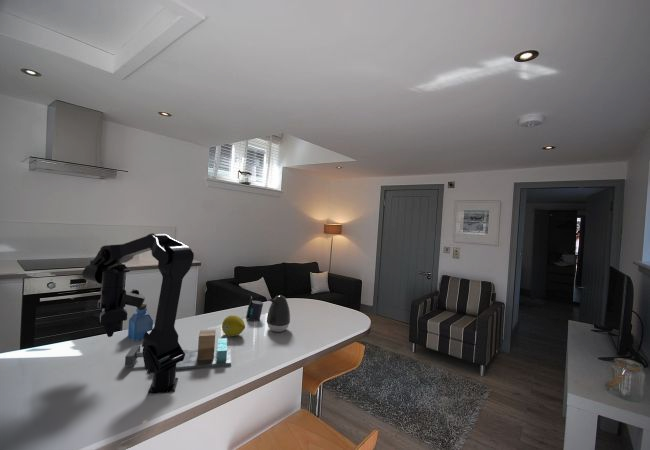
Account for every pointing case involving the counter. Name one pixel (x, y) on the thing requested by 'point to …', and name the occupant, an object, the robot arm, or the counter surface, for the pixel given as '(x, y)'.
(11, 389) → the counter surface
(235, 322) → the lemon
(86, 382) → the counter surface
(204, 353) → the walnut block
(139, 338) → the perfume bottle
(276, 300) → the pump dispenser
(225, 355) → the vise
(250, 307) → the speaker
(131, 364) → the vise jaw
